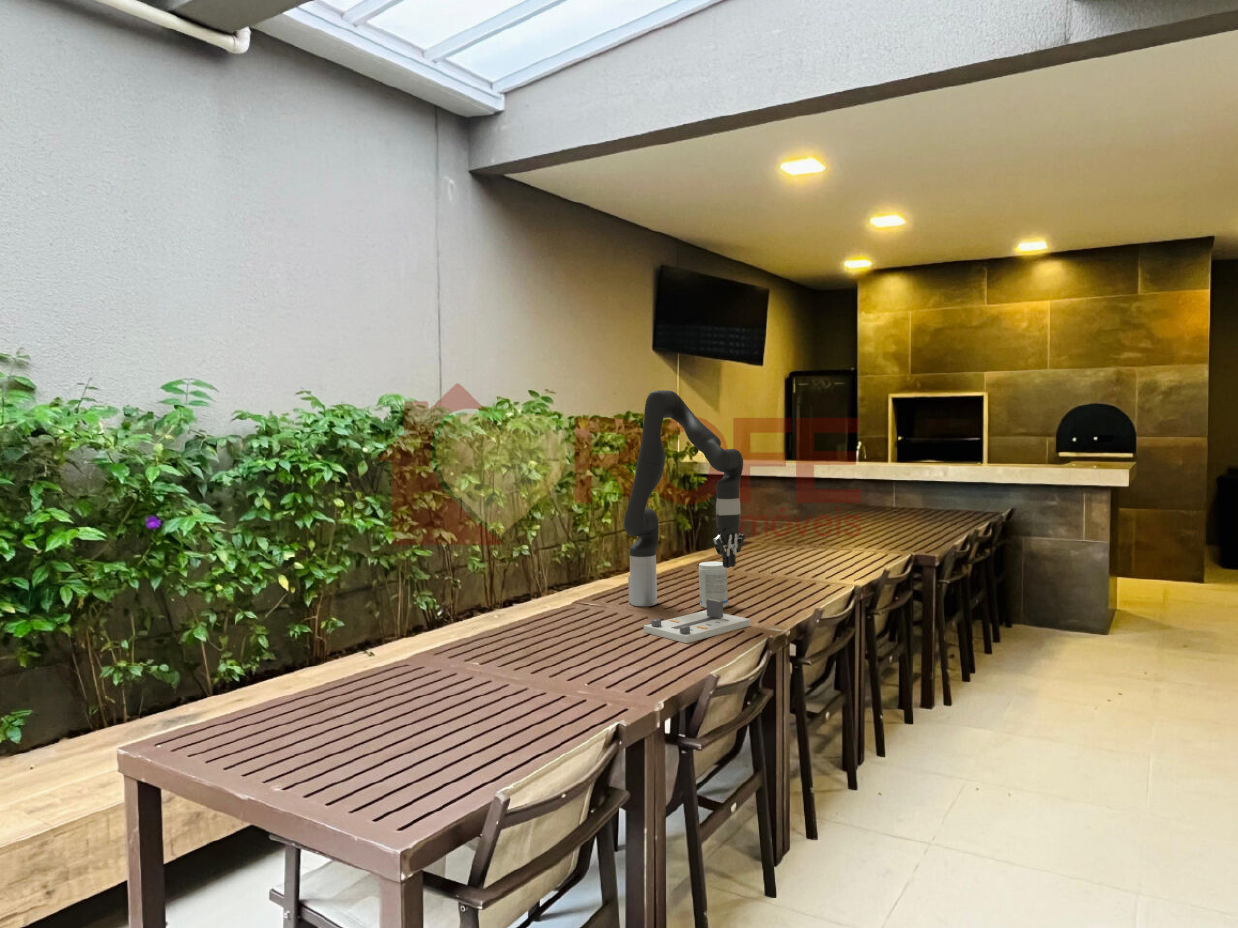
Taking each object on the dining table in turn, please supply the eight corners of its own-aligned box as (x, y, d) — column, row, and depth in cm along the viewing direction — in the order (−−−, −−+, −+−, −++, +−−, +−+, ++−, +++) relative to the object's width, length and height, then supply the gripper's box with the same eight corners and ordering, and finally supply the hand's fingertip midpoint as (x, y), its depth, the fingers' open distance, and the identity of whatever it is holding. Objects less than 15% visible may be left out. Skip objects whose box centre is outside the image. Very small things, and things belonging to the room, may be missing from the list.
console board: (643, 632, 249) (643, 619, 249) (707, 616, 267) (706, 604, 267) (686, 643, 235) (686, 630, 235) (750, 625, 254) (749, 613, 254)
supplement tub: (733, 605, 281) (732, 563, 280) (715, 610, 274) (715, 567, 274) (711, 601, 288) (710, 560, 287) (693, 606, 281) (693, 563, 281)
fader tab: (706, 615, 258) (706, 599, 257) (711, 614, 259) (710, 598, 259) (718, 618, 254) (718, 601, 254) (723, 617, 255) (722, 600, 255)
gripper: (733, 509, 267) (734, 562, 268) (704, 513, 258) (705, 568, 259) (751, 511, 261) (752, 565, 262) (722, 515, 252) (723, 571, 253)
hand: (729, 566), depth 260 cm, fingers closed
